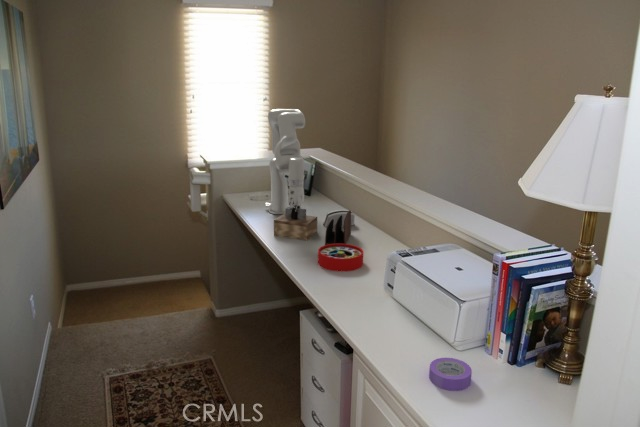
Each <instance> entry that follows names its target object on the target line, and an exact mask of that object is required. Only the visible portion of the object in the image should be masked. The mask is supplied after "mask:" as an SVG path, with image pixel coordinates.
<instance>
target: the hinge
mask: <svg viewBox="0 0 640 427" xmlns="http://www.w3.org/2000/svg"><path fill="white" fill-rule="evenodd" d="M348 211H349V209H336V210H332V211H329V212H327V213H326V214H325V217H324V221H322V224H323V226H324V228H327V226H328V224H329V223H330V221H331V220H332V219H333V220H334V223H333V228H335V225H336V222H337V220H338V218H339V217H340V216H341V215H342V227H344V219H345V217H346V214H347V213H348ZM354 225H355V214H354V212H353V211H352V210H351V226H354Z"/></svg>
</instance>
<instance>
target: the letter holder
mask: <svg viewBox="0 0 640 427" xmlns="http://www.w3.org/2000/svg"><path fill="white" fill-rule="evenodd" d="M348 210H349V209H348ZM351 211H352V210H349V211H348V213H347V214H346V217H345V219H344V226H342V215H341V216H340V217H339V218H338V220H337V222H336V225H335V226H334V227H333V223H334V220H333V219H332V220H331V221H330V223H329V224H328V226H327V227H326V229H325V238H324V240H325V241H324V246H325V245H328V244H348V241H349V240H350V237H351V235H352V225H351Z"/></svg>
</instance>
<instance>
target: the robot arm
mask: <svg viewBox="0 0 640 427" xmlns="http://www.w3.org/2000/svg"><path fill="white" fill-rule="evenodd" d="M267 113H268V116H267V118H268V123H269V126H270V129H271V151H272V154H273V155H274V158H272V159H271V160H269V164H268V166H269V172H270V192H271V193H270V194H271V195H270V196H271V197H270V203H269V202H265V203H264V204H265V205H264V206H265V208H269V209H268V212H269V214H272V215H273V214H274V215H283V214H284V213H286V208H287V207H290V209H291V219H296V220H297V219H298V212H297V208H300V209H302V207H301V206H302V205H303V204H304V203H305V188H304V185H305V184H304V183H305V182H304V181H305V180H304V179H305V178H304V177H305V171H304V170H305V159H304V157H303V156H302V155H301V143H300V140H299V139H298V135H297V131H296V130H297V129H304V128H305V127H306V118H305V114H304V113H303V112H302V111H301V110H300V109H297V108H276V109H275V108H274V109H271V110H269V111H268V112H267ZM284 175H288V180H287V178H286V177H285V176H284Z"/></svg>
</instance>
